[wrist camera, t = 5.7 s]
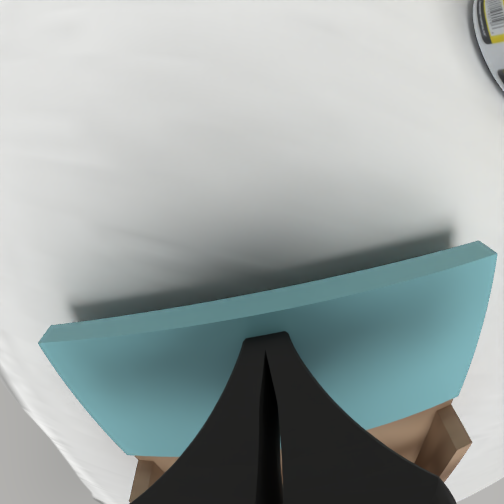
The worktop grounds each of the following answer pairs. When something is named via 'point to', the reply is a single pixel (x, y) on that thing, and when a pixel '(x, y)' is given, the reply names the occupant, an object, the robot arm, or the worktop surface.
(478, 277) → the teal box lid
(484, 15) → the pill bottle
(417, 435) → the wooden box
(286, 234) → the worktop surface
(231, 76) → the worktop surface
